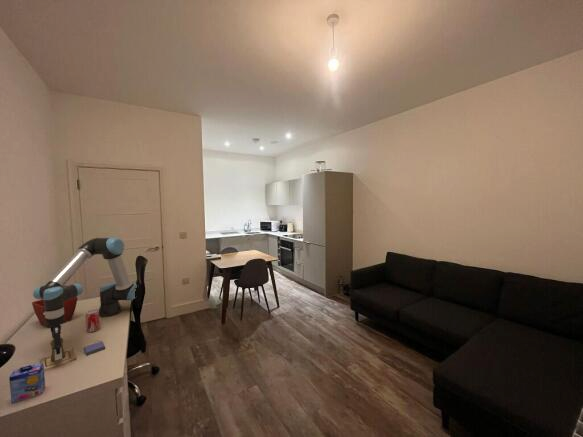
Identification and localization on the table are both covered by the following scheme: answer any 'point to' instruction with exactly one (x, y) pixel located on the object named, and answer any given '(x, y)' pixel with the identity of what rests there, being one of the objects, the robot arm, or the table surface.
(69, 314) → the plant pot
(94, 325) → the soda can
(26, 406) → the table surface
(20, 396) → the ink cartridge box
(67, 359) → the board
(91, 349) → the ink pad
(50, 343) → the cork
